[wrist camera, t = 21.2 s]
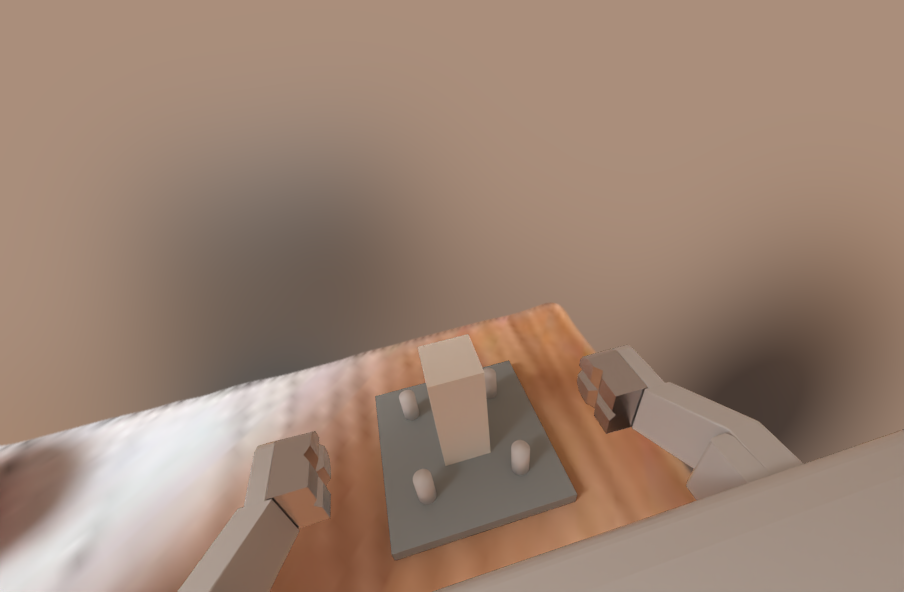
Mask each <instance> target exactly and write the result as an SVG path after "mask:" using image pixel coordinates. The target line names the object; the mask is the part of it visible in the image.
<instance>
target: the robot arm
mask: <svg viewBox="0 0 904 592" xmlns="http://www.w3.org/2000/svg"><path fill="white" fill-rule="evenodd" d="M579 366H580V367H581V368H582V371H581V372H580V373H579V374H578V378H577V384H578V388H579V392H580V394H581V396H582V398H583V399H584V401H585V402H586V404H588V405H590V406H592V407H594V408H595V410H594V416H595V418H596V419H597V421H598V422H599V424H600V425H601V427H602V428H603V430H604V431H605V433H606V434H607V433H611V432H614V431H618V430H621V429H625V428H629V427H632V429H634V430H636V431H637V432H639V433H640V434H642V435H643V436H645V437H646V438H648V439H649V440H651V441H652V442H654V443H655V444H657V445H658V446H660V447H661V448H663V449H664V450H666V451H667V452H669V453H671V454H672V455H674V456H675V457H677V458H678V459H680V460H681V461H683V462H684V463H686V464H687V465H689V466H690V467H692V468H694V470H693V472H692V473H691V475H690V477H689V479H688V480H687V484H686V487H687V488H688V489H689V491H690V492H691V493H692V495H693V496H694V497H695V499H696V500H697V501H694V502H691V503H688V504H685V505H683V506H680V507H677V508H674V509H671V510H668V511H665V512H662V513H659V514H656V515H654V516H651V517H648V518H645V519H642V520H639V521H636V522H633V523H630V524H627V525H625V526H622V527H619V528H616V529H613V530H610V531H607V532H604V533H601V534H598V535H596V536H593V537H590V538H587V539H584V540H581V541H578V542H575V543H572V544H569V545H567V546H564V547H561V548H558V549H555V550H552V551H549V552H546V553H543V554H540V555H538V556H535V557H532V558H529V559H526V560H523V561H520V562H517V563H514V564H511V565H509V566H506V567H503V568H500V569H497V570H494V571H491V572H488V573H485V574H482V575H480V576H477V577H474V578H471V579H468V580H465V581H462V582H459V583H456V584H453V585H451V586H448V587H445V588H442V589H439V590H436V591H433V592H904V429H903V430H900V431H897V432H894V433H892V434H889V435H886V436H883V437H880V438H877V439H874V440H871V441H868V442H865V443H862V444H860V445H857V446H854V447H851V448H848V449H845V450H843V451H839V452H837V453H833V454H831V455H828V456H825V457H822V458H819V459H816V460H813V461H810V462H807V463H804V464H803V463H802V462H801V461H800V460H799V459H798V458H797V457H796V456H795V455H794V454H793V453H792V452H791V451H790V450H789V449H787V448H786V447H785V446H784V445H783V444H782V443H781V442H780V441H779V440H778V439H777V438H776V437H775V436H774V435H773V434H772V433H770V432H769V431H768V430H767V429H766V428H765V427H764V426H763V425H762V424H761V423H760V422H759V421H757V420H754V419H752V418H750V417H748V416H745V415H743V414H741V413H739V412H737V411H734V410H732V409H730V408H727V407H725V406H723V405H721V404H719V403H716V402H714V401H712V400H709V399H707V398H705V397H703V396H700V395H698V394H696V393H694V392H691V391H689V390H687V389H685V388H682V387H680V386H678V385H675V384H673V383H671V382H668V383H665V382H664V381H663V380H662V379H661V378H660V377H659V376H658V375H657V374H656V372H655V371H654V370H653V369H652V368H651V367H650V366H649V365H648V364H647V363H646V362H645V361H644V360H643V358H642V357H641V356H640V355H639V354H638V353H637V352H636V351H635V350H634V349H633V348H632V347H631V346H629V345H624V346H620V347H617V348H613V349H608V350H605V351H601V352H598V353H594V354H591V355H587V356H584V357H582V358H581V359H580V364H579ZM330 479H331V466H330V459H329V455H328V452H327V450H326V448H325V446H323V445H320V444H319V436H318V435H317V433H316V432H315V431H314V432H310V433H306V434H302V435H298V436H294V437H290V438H286V439H282V440H278V441H274V442H270V443H266V444H263V445H259V446H258V447H257V449H256V450H255V452H254V457H253V462H252V467H251V472H250V477H249V483H248V488H247V493H246V498H245V503H244V507H242V508H239V509H237V511H236V512H235V514H234V515H233V516H232V518H231V519H230V520H229V522H228V523H227V524H226V526H225V527H224V529H223V530H222V531H221V533H220V534H219V535H218V537H217V538H216V540H215V541H214V542H213V544H212V545H211V546H210V548H209V549H208V550H207V552H206V553H205V555H204V556H203V557H202V559H201V560H200V561H199V563H198V564H197V565H196V567H195V568H194V570H193V571H192V572H191V574H190V575H189V576H188V578H187V579H186V581H185V582H184V583H183V585H182V586H181V587H180V589H179V590H178V591H177V592H269V591H270V589H271V587H272V585H273V583H274V581H275V579H276V577H277V575H278V573H279V571H280V569H281V567H282V565H283V563H284V561H285V559H286V557H287V555H288V553H289V551H290V549H291V547H292V545H293V543H294V541H295V539H296V537H297V535H298V533H299V529H300V528H303V527H306V526H309V525H312V524H315V523H318V522H321V521H324V520H327V519H330V504H331V494H330V492H329V491H328V489H327V487H326V486H327V484H328V482H329V481H330Z"/></svg>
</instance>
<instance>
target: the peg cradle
mask: <svg viewBox="0 0 904 592" xmlns="http://www.w3.org/2000/svg"><path fill="white" fill-rule="evenodd" d="M483 370H484V373H485V386H486V399H487V412H488V425H489V438H490V451H491V453H488V454H484V455H481V456H477V457H474V458H471V459H467V460H464V461H461V462H457V463H454V464H451V465H447V466H445V462H444V458H443V454H442V450H441V446H440V442H439V438H438V434H437V429H436V425H435V421H434V417H433V412H432V408H431V404H430V399H429V395H428V391H427V386H426V383H423V384H420V385H416V386H412V387H408V388H405V389H401V390H397V391H393V392H390V393H386V394H382V395H379V396H375V398H376V408H377V418H378V427H379V437H380V446H381V456H382V466H383V475H384V485H385V495H386V504H387V514H388V523H389V533H390V543H391V552H392V556H393V558H394V560H399V559H402V558H405V557H408V556H411V555H414V554H417V553H420V552H423V551H426V550H429V549H432V548H435V547H438V546H441V545H444V544H447V543H450V542H453V541H456V540H459V539H463V538H466V537H469V536H472V535H475V534H478V533H481V532H484V531H487V530H490V529H493V528H496V527H499V526H502V525H505V524H508V523H511V522H514V521H517V520H520V519H523V518H526V517H530V516H533V515H536V514H539V513H542V512H545V511H548V510H551V509H554V508H557V507H560V506H563V505H566V504H569V503H572V502H575V501H576V497H577V493H576V491H575V489H574V487H573V485H572V483H571V481H570V479H569V477H568V475H567V473H566V471H565V469H564V468H563V466H562V464H561V462H560V460H559V458H558V456H557V454H556V452H555V450H554V448H553V446H552V444H551V442H550V440H549V438H548V436H547V434H546V432H545V430H544V428H543V426H542V424H541V422H540V420H539V419H538V417H537V415H536V413H535V411H534V409H533V407H532V405H531V403H530V401H529V399H528V397H527V395H526V393H525V391H524V389H523V387H522V385H521V383H520V381H519V379H518V377H517V375H516V373H515V372H514V370H513V368H512V366H511V364H510V362H509V361H506V362H502V363H498V364H494V365H491V366H487V367H483Z"/></svg>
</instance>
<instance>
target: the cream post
mask: <svg viewBox="0 0 904 592" xmlns="http://www.w3.org/2000/svg"><path fill="white" fill-rule="evenodd" d="M418 351H419V356H420V360H421V364H422V369H423V373H424V377H425V382H426V386H427V391H428V395H429V399H430V404H431V408H432V412H433V417H434V421H435V425H436V429H437V434H438V438H439V442H440V446H441V450H442V454H443V458H444V462H445V466H447V465H451V464H454V463H457V462H461V461H464V460H467V459H471V458H474V457H477V456H481V455H484V454H488V453H491V451H490V438H489V425H488V412H487V399H486V386H485V373H484V370H483V368H482V365H481V363H480V361H479V358H478V356H477V354H476V351H475V349H474V346H473V344H472V342H471V339H470V337H469V335H468V334H467V335H463V336H459V337H455V338H451V339H447V340H443V341H439V342H435V343H431V344H427V345H423V346H419V347H418Z"/></svg>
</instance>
